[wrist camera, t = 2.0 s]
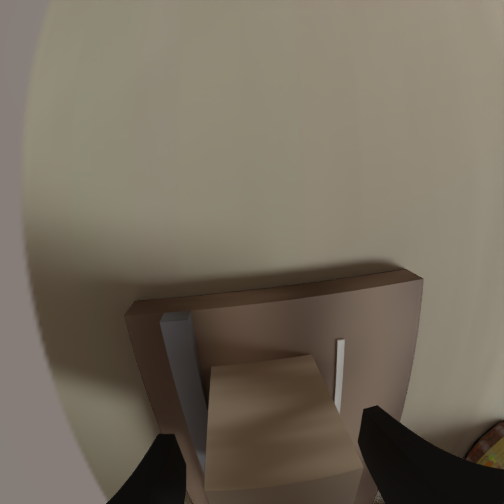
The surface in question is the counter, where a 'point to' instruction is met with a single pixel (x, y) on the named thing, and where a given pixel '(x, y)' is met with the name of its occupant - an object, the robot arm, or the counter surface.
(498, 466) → the sauce bottle
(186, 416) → the walnut board
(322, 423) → the maple block
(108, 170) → the counter surface
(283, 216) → the counter surface
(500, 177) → the counter surface
